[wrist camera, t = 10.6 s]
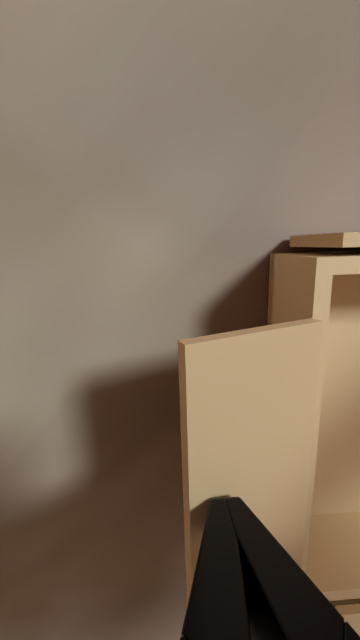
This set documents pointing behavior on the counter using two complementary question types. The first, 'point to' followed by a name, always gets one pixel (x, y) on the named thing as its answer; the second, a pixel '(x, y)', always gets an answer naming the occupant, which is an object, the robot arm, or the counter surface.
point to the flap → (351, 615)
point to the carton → (328, 401)
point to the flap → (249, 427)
